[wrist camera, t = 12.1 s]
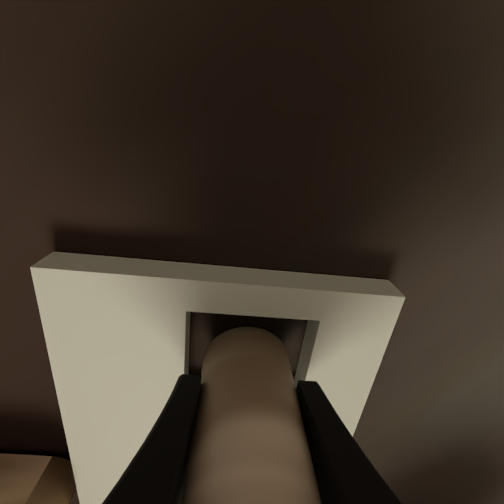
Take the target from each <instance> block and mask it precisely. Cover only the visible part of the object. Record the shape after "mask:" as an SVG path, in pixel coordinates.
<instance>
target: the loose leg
mask: <svg viewBox="0 0 504 504" xmlns="http://www.w3.org/2000/svg"><path fill="white" fill-rule="evenodd" d="M201 375H202V379H201V389H200V396H199V402H198V409H197V415H196V420H195V424H194V429H193V434H192V439H191V444H190V449H189V455H188V461H187V467H186V473H185V480H184V486H183V492H182V499H181V504H322V503H321V499H320V494H319V490H318V485H317V481H316V476H315V472H314V468H313V463H312V459H311V454H310V450H309V445H308V441H307V437H306V432H305V428H304V423H303V419H302V414H301V410H300V406H299V401H298V397H297V392H296V388H295V383H294V379H293V374H292V370H291V366H290V361H289V357H288V353H287V349H286V347H285V345H284V344H283V342H282V341H281V340H280V339H279V338H278V337H277V336H276V335H274V334H273V333H271V332H269V331H267V330H264V329H261V328H256V327H238V328H234V329H230V330H228V331H225V332H223V333H221V334H220V335H218V336H217V337H216V338H215V339H213V340H212V341H211V343H210V344H209V345H208V347H207V349H206V351H205V354H204V359H203V365H202V372H201Z"/></svg>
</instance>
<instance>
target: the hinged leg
mask: <svg viewBox="0 0 504 504" xmlns="http://www.w3.org/2000/svg"><path fill="white" fill-rule="evenodd" d="M75 490H76V483H75V478H74V474H73V469H72V464H71V461H69V460H67V459H64V458H60V457H54V456H38V455H19V454H1V453H0V504H69V503H70V501H71V499H72V497H73V494H74V492H75Z"/></svg>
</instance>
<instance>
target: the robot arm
mask: <svg viewBox="0 0 504 504" xmlns="http://www.w3.org/2000/svg"><path fill="white" fill-rule="evenodd" d="M201 379H202V375H189V374H182V375H180V376H179V377H178V379H177V382H176V384H175V387H174V389H173V391H172V393H171V395H170V397H169V399H168V401H167V403H166V405H165V406H164V408H163V410H162V412H161V414H160V416H159V417H158V419H157V421H156V422H155V424H154V426H153V427H152V429H151V431H150V432H149V434H148V436H147V437H146V439H145V441H144V442H143V444H142V446H141V447H140V449H139V450H138V452H137V453H136V455H135V456H134V458H133V459H132V461H131V462H130V464H129V465H128V467H127V468H126V470H125V471H124V473H123V474H122V476H121V477H120V479H119V480H118V482H117V483H116V485H115V486H114V487H113V489H112V490H111V492H110V493H109V494H108V496H107V497H106V499H105V500H104V501H103V503H102V504H181V499H182V492H183V486H184V480H185V473H186V467H187V461H188V455H189V449H190V444H191V439H192V434H193V429H194V424H195V420H196V415H197V409H198V402H199V396H200V389H201ZM296 392H297V397H298V401H299V406H300V410H301V414H302V419H303V423H304V428H305V432H306V437H307V441H308V445H309V450H310V454H311V459H312V463H313V468H314V472H315V476H316V481H317V485H318V490H319V494H320V499H321V503H322V504H402V503H401V502H400V500H399V499H398V498H397V497H396V495H395V494H394V493H393V491H392V490H391V489H390V488H389V486H388V485H387V484H386V482H385V481H384V480H383V478H382V477H381V476H380V474H379V473H378V472H377V470H376V469H375V468H374V466H373V465H372V464H371V462H370V461H369V459H368V458H367V457H366V455H365V454H364V452H363V451H362V450H361V448H360V447H359V445H358V444H357V442H356V441H355V439H354V438H353V437H352V435H351V434H350V432H349V431H348V429H347V428H346V426H345V425H344V423H343V422H342V420H341V419H340V417H339V415H338V414H337V412H336V411H335V409H334V408H333V406H332V405H331V403H330V401H329V400H328V398H327V397H326V395H325V393H324V392H323V390H322V388H321V387H320V385H319V384H318V383H317V381H302V380H298V383H297V387H296Z"/></svg>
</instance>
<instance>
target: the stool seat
mask: <svg viewBox="0 0 504 504" xmlns="http://www.w3.org/2000/svg"><path fill="white" fill-rule="evenodd" d="M30 269H31V274H32V278H33V283H34V288H35V293H36V297H37V302H38V307H39V312H40V316H41V321H42V326H43V331H44V335H45V340H46V345H47V350H48V355H49V359H50V364H51V369H52V374H53V378H54V383H55V388H56V393H57V397H58V402H59V407H60V412H61V416H62V421H63V426H64V431H65V435H66V440H67V445H68V450H69V454H70V459H71V464H72V469H73V474H74V478H75V483H76V488H77V493H78V497H79V502H80V504H102V503H103V501H104V500H105V499H106V497H107V496H108V494H109V493H110V492H111V490H112V489H113V487H114V486H115V485H116V483H117V482H118V480H119V479H120V477H121V476H122V474H123V473H124V471H125V470H126V468H127V467H128V465H129V464H130V462H131V461H132V459H133V458H134V456H135V455H136V453H137V452H138V450H139V449H140V447H141V446H142V444H143V442H144V441H145V439H146V437H147V436H148V434H149V432H150V431H151V429H152V427H153V426H154V424H155V422H156V421H157V419H158V417H159V416H160V414H161V412H162V410H163V408H164V406H165V405H166V403H167V401H168V399H169V397H170V395H171V393H172V391H173V389H174V387H175V384H176V382H177V379H178V377H179V376H180V375H182V374H188V371H189V344H190V317H191V312H203V313H217V314H231V315H245V316H259V317H273V318H287V319H301V320H308V322H307V326H306V331H305V335H304V339H303V344H302V348H301V352H300V357H299V361H298V365H297V370H296V374H295V378H294V383H295V388H296V387H297V383H298V380H302V381H317V383H318V384H319V385H320V387H321V388H322V390H323V392H324V393H325V395H326V397H327V398H328V400H329V401H330V403H331V405H332V406H333V408H334V409H335V411H336V412H337V414H338V415H339V417H340V419H341V420H342V422H343V423H344V425H345V426H346V428H347V429H348V431H349V432H350V434H351V435H352V437H353V434H354V432H355V429H356V427H357V424H358V421H359V419H360V416H361V413H362V411H363V408H364V405H365V403H366V400H367V397H368V395H369V392H370V390H371V387H372V384H373V382H374V379H375V376H376V374H377V371H378V368H379V366H380V363H381V361H382V358H383V355H384V353H385V350H386V347H387V345H388V342H389V339H390V337H391V334H392V332H393V329H394V326H395V324H396V321H397V318H398V316H399V313H400V310H401V308H402V305H403V302H404V300H405V296H404V295H403V294H402V293H401V292H400V291H399V290H398V289H397V288H396V287H395V286H394V285H393V284H392V283H391V282H390V281H389V280H383V279H371V278H359V277H348V276H336V275H324V274H312V273H301V272H289V271H277V270H265V269H253V268H242V267H230V266H218V265H206V264H195V263H183V262H171V261H159V260H147V259H136V258H124V257H112V256H100V255H89V254H77V253H65V252H52V253H51V254H49V255H48V256H46V257H45V258H43V259H42V260H40V261H39V262H37V263H36V264H34V265H33V266H31V267H30Z"/></svg>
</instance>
